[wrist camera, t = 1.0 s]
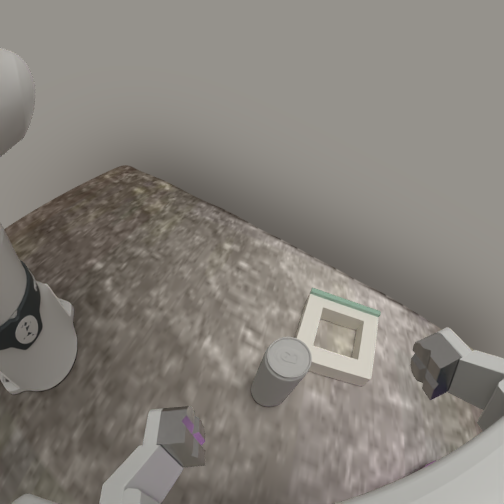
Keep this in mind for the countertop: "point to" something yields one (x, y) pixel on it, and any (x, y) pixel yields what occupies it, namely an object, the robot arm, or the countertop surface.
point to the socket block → (346, 316)
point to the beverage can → (280, 371)
